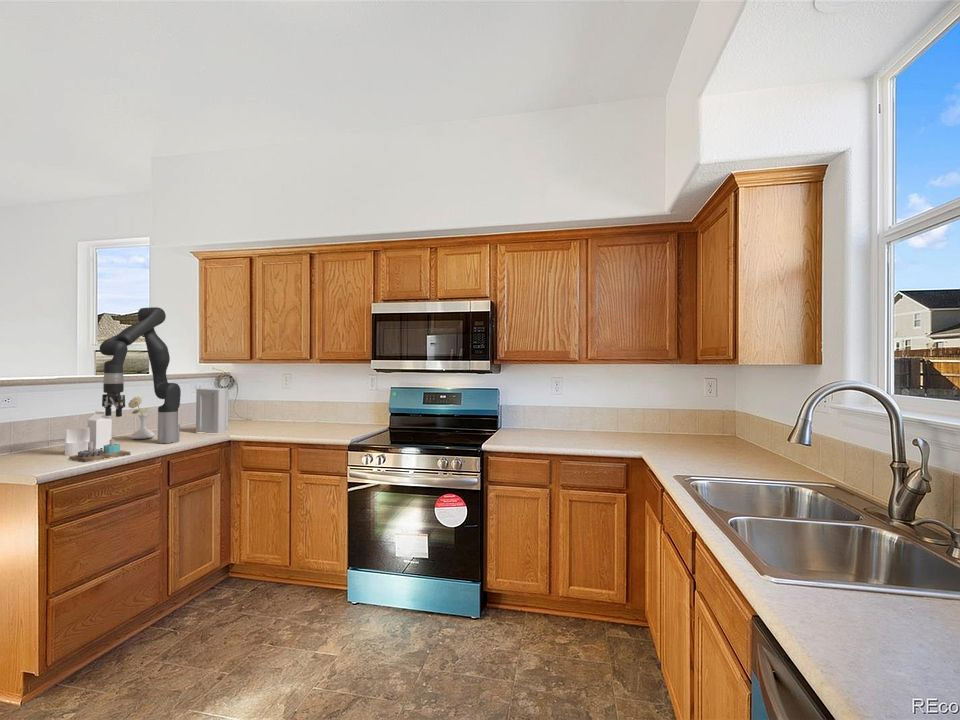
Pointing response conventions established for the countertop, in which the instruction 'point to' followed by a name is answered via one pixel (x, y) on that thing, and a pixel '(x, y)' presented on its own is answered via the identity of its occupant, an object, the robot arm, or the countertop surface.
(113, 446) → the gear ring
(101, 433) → the milk carton
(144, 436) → the flower in vase
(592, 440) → the countertop surface
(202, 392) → the grey box
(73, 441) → the base with upright slab
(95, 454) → the gear board
